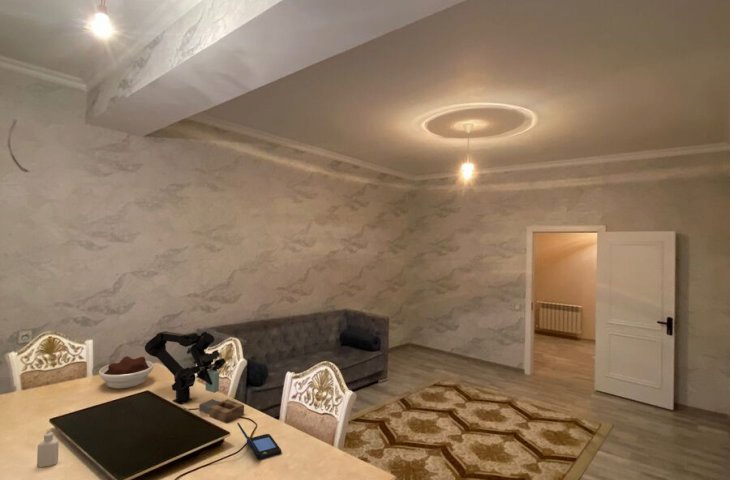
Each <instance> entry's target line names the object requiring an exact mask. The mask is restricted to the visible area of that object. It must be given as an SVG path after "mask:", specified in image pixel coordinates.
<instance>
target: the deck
mask: <svg viewBox="0 0 730 480" xmlns="http://www.w3.org/2000/svg"><path fill="white" fill-rule="evenodd" d="M220 402H221V401H219V400H216V399H209V400H207V401H204V402H202V403H200V404H199V405H198V406H199V407H198V408H199V412H200V413H201V412H202V413H204V414H207V415H209V413H210V407H211V406H213V405H215V404H218V403H220Z"/></svg>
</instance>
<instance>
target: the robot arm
mask: <svg viewBox="0 0 730 480" xmlns="http://www.w3.org/2000/svg"><path fill="white" fill-rule="evenodd" d="M167 342H172V343H177V344H179V345H180V346H182V347H185V348H186V347H188V348H187V351H186V354H187V355H189V354H190V355H191V356H192V358H193V360H194V361H193V364H194V365H195V366H192V367H185V368H183V366H181V364H180V363H178V361H177V360H176V359H175V358H174V357H173V356H172V355H171V354H170V353H169V352H168V351H167V347H166V346H167ZM214 342H215V337H214V335H212V334H211V333H208V332H207V331H203V332H201V333H200V335H199V334H198V333H197V332H187V333H177V332H172V331H171V332H170V331H168V330H166V331H161V332H158V333H156V335H155V336H154V337H152V338H151V339H149V340H148V341H147V342H146V344H145V346H144V351H145V352H146V353H147V354H148V355H149V356H152V357H154V358H157V359H158V360H159V361H160V362H161V363H162V364H163V365H164V367H166V369H167V370H168V371H169V372H170V373H171V374H172V375H173V376H174V383H173V384H172V385H171V389H172V391H174V392H175V399H173V400H172V402H174V403H176V404H178V405H182V404H185V403H188V402H190V401H192V400H193V398H191V392H190V391H191V387H194V385H195V382H196V379H200V380H202V381H203V382H204V383H206V382H207V383H208V384H210V385H212V381H211V379H210V377H209V375H208V372H207V370H210V369H211V370H214V371H218V370H220V369H221V368H222V367H223V366H224V365H225V364H226V363H227V361H226V360H225V358H219V359H218V357H220V352H219V351H218V349H216V350H214V351H212V352H210V353H208V352H206V350H207V349H209V347H210V346H211V345H212V344H213V343H214Z"/></svg>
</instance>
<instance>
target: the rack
mask: <svg viewBox="0 0 730 480" xmlns="http://www.w3.org/2000/svg"><path fill="white" fill-rule="evenodd" d="M219 402H220V403H218V404H215V405H213V406H211V407H210V413H209V414H208V416H209V418H212V419H214V420H217V421H219V422H220V423H221V422H222V423H224V424H228V423H230V422H232V421H234V420H237V419H238V418H240V417H242V416H244V415H245V405H244V404H242V403H241V402H240V403H239V402H236V401H234V400H230V399H225V400H223V401H219Z"/></svg>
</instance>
